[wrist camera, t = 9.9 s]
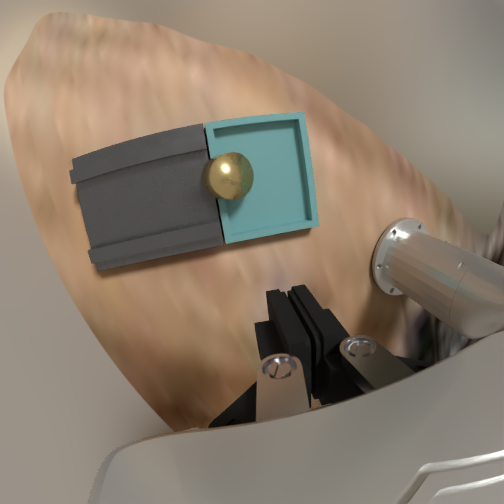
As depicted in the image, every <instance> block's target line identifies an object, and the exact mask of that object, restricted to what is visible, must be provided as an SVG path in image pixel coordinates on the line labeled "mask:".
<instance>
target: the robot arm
mask: <svg viewBox="0 0 504 504" xmlns="http://www.w3.org/2000/svg"><path fill="white" fill-rule="evenodd" d="M372 271H373V277H374V280H375V282H376V284H377V285H378V287H379V288H380V289H381V290H383V291H384V292H385V293H387V294H389V295H402V294H405V295H407V296H408V297H410V298H411V299H412V300H414V301H415V302H417V303H418V304H419V305H421V306H422V307H423V308H425V309H426V310H428V311H429V312H430V313H432V314H433V315H434V316H436V317H437V318H438V319H440V320H441V321H442V322H444V323H445V324H446V325H448V326H449V327H450V328H452V329H453V330H455V331H456V332H457V333H459V334H460V335H462V336H464V337H466V338H481V337H485V336H488V335H490V336H488V337H485V338H483V339H482V340H480V341H478V342H476V343H474V344H472V345H471V346H469V347H467V348H465V349H463V350H461V351H459V352H458V353H456V354H454V355H452V356H450V357H448V358H446V359H444V360H442V361H439V362H436V364H433V363H431V362H427V361H421V360H415V359H409V358H404V357H399V356H395V355H393V354H392V353H391V352H390V351H389V350H387V349H386V348H385V347H384V346H383V345H381V344H380V343H379V342H378V341H377V340H375V339H374V338H372V337H369V336H365V335H354V336H351V337H350V335H349V334H348V333H347V331H346V330H345V329H344V327H343V326H342V325H341V324H340V322H339V321H338V320H337V318H336V317H335V316H334V314H333V313H332V312H331V311H330V310H329V309H322V307H321V306H320V305H319V303H318V302H317V301H316V299H315V298H314V297H313V295H312V294H311V293H310V291H309V290H308V289H307V287H306V286H305V285H299V286H293V287H292V288H291V290H290V291H288V292H287V295H288V297H287V295H286V294H285V292H280V290H279V289H277V290H271V291H266V297H267V305H268V314H269V321H263V322H258V323H255V331H256V338H257V344H258V349H259V354H260V359H261V362H260V363H259V365H258V368H257V381H256V382H255V383H254V384H253V385H252V386H251V387H250V388H249V389H248V390H247V391H246V392H245V393H244V394H242V395H241V396H240V397H239V398H238V399H237V400H236V401H235V402H234V403H233V404H231V405H230V406H229V407H228V408H227V409H226V410H225V411H224V412H222V413H221V414H220V415H219V416H218V417H217V418H215V419H214V420H213V421H212V422H211V424H210V425H209V427H208V428H205V429H199V428H198V427H196V428H192V429H188V430H184V431H180V432H173V433H166V434H161V435H156V436H151V437H146V438H143V439H140V440H136V441H133V442H130V443H127V444H125V445H123V446H121V447H118V448H116V449H115V450H114V451H112V452H111V453H110V454H109V455H108V456H107V457H106V458H105V459H104V461H103V462H102V464H101V466H100V468H99V470H98V472H97V474H96V477H95V479H94V483H93V485H92V489H91V492H90V496H89V500H88V504H504V267H503V266H501V265H498V264H496V263H494V262H492V261H489V260H487V259H485V258H483V257H480V256H478V255H476V254H474V253H471V252H469V251H467V250H464V249H462V248H460V247H457V246H455V245H452V244H450V243H448V242H447V241H443V240H440V239H437V238H435V237H432V236H430V233H429V231H428V229H427V228H426V226H425V225H424V224H423V223H421V222H420V221H418V220H415V219H411V218H405V219H400V220H398V221H396V222H394V223H393V224H392V225H390V226H389V227H388V228H387V229H386V230H385V232H384V233H383V234H382V236H381V237H380V239H379V241H378V243H377V245H376V248H375V251H374V255H373V260H372ZM494 333H495V334H494ZM491 334H492V335H491ZM311 393H312V395H313V398H314V399H319V401H320V403H321V405H326V404H329V403H331V404H330V405H327V406H323V407H320V408H316V409H312V410H310V408H311Z"/></svg>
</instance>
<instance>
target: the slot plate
mask: <svg viewBox="0 0 504 504" xmlns="http://www.w3.org/2000/svg"><path fill="white" fill-rule="evenodd" d="M207 161H208V154H207V146H206V140H205V134H204V129H203V123H202V124H197V125H192V126H186V127H182V128H177V129H172V130H168V131H164V132H159V133H155V134H151V135H147V136H143V137H140V138H136V139H132V140H129V141H125V142H122V143H119V144H115V145H112V146H109V147H106V148H103V149H100V150H97V151H94V152H91V153H88V154H85V155H82V156H80V157H77V158H74V159H72V162H73V170H70V171H69V172H70V178H71V183H72V184H76V186H77V191H78V196H79V201H80V205H81V210H82V214H83V218H84V223H85V227H86V230H87V234H88V238H89V242H90V245H91V249H89V250H88V254H89V257H90V260H91V263H96V265H97V268H98V271H101V270H105V269H110V268H115V267H119V266H124V265H129V264H133V263H138V262H143V261H148V260H152V259H157V258H162V257H167V256H172V255H176V254H181V253H186V252H191V251H196V250H201V249H206V248H211V247H216V246H221V245H224V243H223V237H222V231H221V226H220V221H219V216H218V211H217V205H216V200H215V198H213V197H212V196H210V195H209V194H208V193H207V191H206V190H205V188H204V185H203V182H202V172H203V168H204V166H205V164H206V163H207Z"/></svg>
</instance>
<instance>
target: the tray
mask: <svg viewBox="0 0 504 504" xmlns="http://www.w3.org/2000/svg"><path fill="white" fill-rule="evenodd" d="M205 130H206V136H207V142H208V148H209V154H210V159H211V158H212V157H214V156H217V155H221V154H226V153H230V152H237V153H240V154H242V155H244V156H245V157H246V158H247V159H248V160H249V162H250V164H251V166H252V168H253V173H254V180H253V185H252V188H251V190H250V191H249V193H248V194H247V195H246V196H244V197H243V198H241V199H236V200H220V199H217V200H218V206H219V211H220V217H221V222H222V228H223V233H224V238H225V242H226V244H228V243H233V242H238V241H243V240H248V239H254V238H259V237H264V236H269V235H274V234H279V233H285V232H290V231H295V230H300V229H306V228H311V227H316V226H319V221H318V211H317V201H316V192H315V184H314V175H313V168H312V160H311V153H310V146H309V140H308V133H307V127H306V121H305V115H304V112H297V113H282V114H270V115H260V116H251V117H243V118H235V119H228V120H222V121H215V122H210V123H205Z"/></svg>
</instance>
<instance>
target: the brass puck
mask: <svg viewBox="0 0 504 504" xmlns="http://www.w3.org/2000/svg"><path fill="white" fill-rule="evenodd" d="M253 180H254V173H253V168H252V166H251V164H250V162H249V160H248V159H247V158H246V157H245V156H244V155H242V154H240V153H237V152H230V153H226V154H221V155H217V156H214V157H212V158H211V159H209V160H208V161H207V163H206V164H205V166H204V168H203V172H202V182H203V185H204V188H205V190H206V191H207V193H208V194H209V195H210V196H212V197H213V198H216V199H220V200H236V199H241V198H243V197H244V196H246V195H247V194H248V193H249V191H250V190H251V188H252V185H253Z"/></svg>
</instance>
